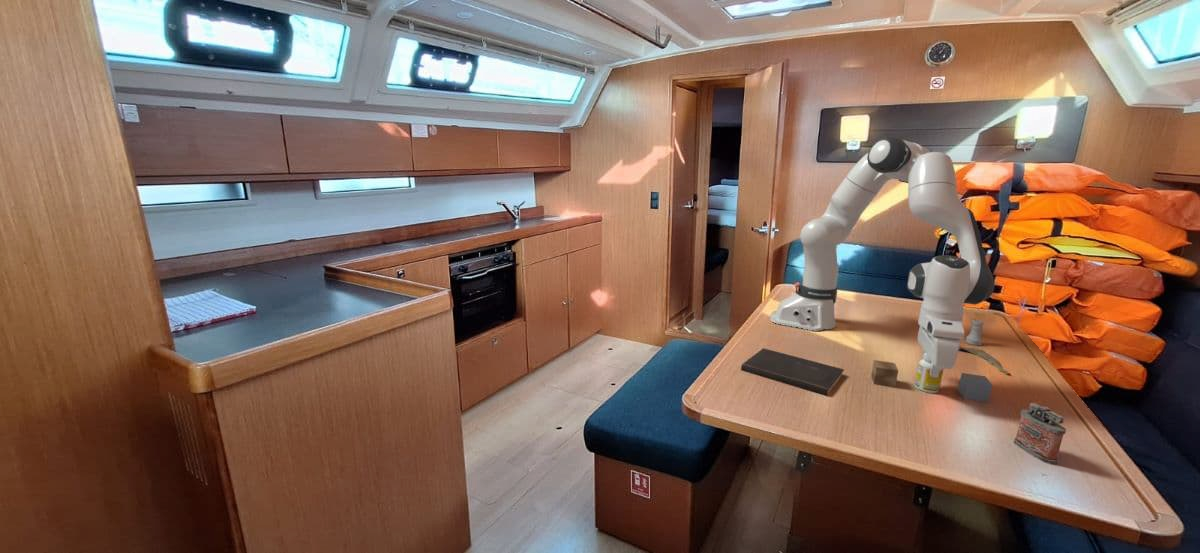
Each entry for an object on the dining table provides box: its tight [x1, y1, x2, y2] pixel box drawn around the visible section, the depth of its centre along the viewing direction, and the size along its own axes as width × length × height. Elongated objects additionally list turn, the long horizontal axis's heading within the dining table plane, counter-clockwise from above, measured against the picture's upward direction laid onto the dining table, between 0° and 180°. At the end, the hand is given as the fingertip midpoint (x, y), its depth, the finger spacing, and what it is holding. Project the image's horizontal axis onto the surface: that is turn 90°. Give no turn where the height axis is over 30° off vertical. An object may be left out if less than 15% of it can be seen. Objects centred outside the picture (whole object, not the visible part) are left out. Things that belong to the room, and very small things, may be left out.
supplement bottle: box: [914, 352, 944, 394], centre depth 123 cm, size 5×5×10 cm
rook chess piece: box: [964, 318, 985, 346], centre depth 154 cm, size 4×4×8 cm
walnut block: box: [870, 359, 899, 388], centre depth 127 cm, size 5×5×5 cm
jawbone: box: [959, 345, 1012, 376], centre depth 142 cm, size 9×20×2 cm, turn 9°
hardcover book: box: [740, 347, 845, 397], centre depth 132 cm, size 16×23×2 cm
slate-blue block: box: [957, 372, 993, 403], centre depth 120 cm, size 5×5×5 cm
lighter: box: [1013, 402, 1067, 465], centre depth 96 cm, size 8×3×10 cm, turn 5°
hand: (930, 370), depth 123 cm, fingers closed on supplement bottle, 5 cm apart
